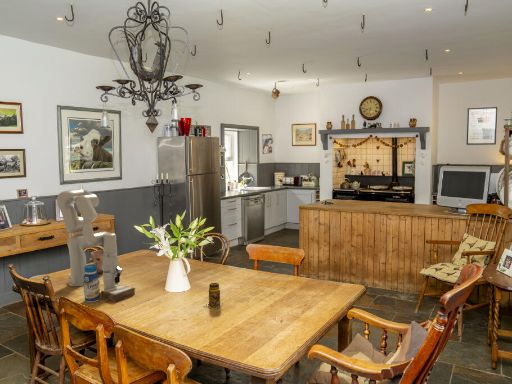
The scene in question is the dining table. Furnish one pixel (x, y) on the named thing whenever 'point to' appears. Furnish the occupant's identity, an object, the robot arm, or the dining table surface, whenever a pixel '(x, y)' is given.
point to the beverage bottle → (91, 283)
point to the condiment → (214, 295)
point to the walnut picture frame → (117, 293)
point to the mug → (109, 280)
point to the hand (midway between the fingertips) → (111, 281)
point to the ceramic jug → (97, 259)
